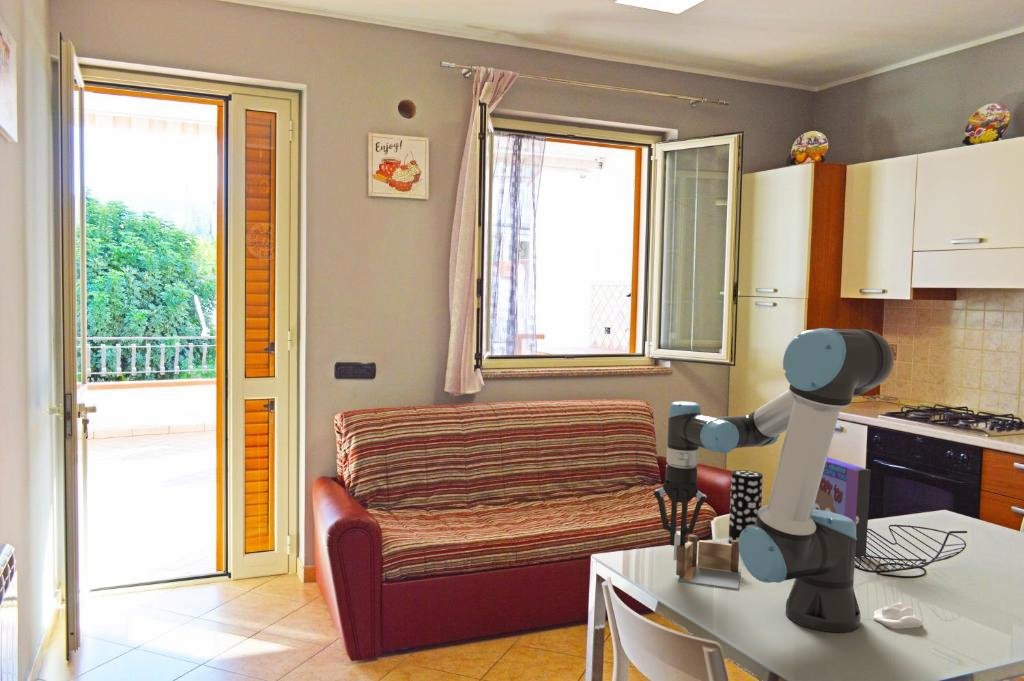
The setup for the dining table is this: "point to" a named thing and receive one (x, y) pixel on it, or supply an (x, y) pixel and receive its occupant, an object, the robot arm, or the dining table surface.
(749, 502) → the white-spotted black cylinder
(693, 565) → the fence fixed
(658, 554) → the dining table surface
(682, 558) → the folding panel
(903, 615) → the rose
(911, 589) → the dining table surface
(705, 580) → the card
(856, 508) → the cereal box
